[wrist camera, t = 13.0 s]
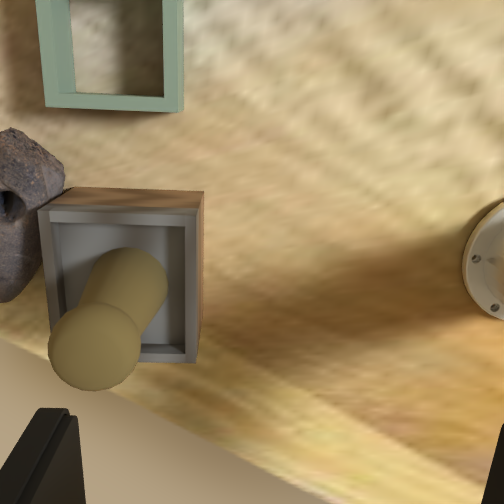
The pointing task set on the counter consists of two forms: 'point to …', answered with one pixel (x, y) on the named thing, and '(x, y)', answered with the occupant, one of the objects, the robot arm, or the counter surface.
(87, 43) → the counter surface
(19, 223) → the perforated stone tool
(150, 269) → the tan rounded piece
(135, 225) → the gray open box
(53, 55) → the shaker holder
